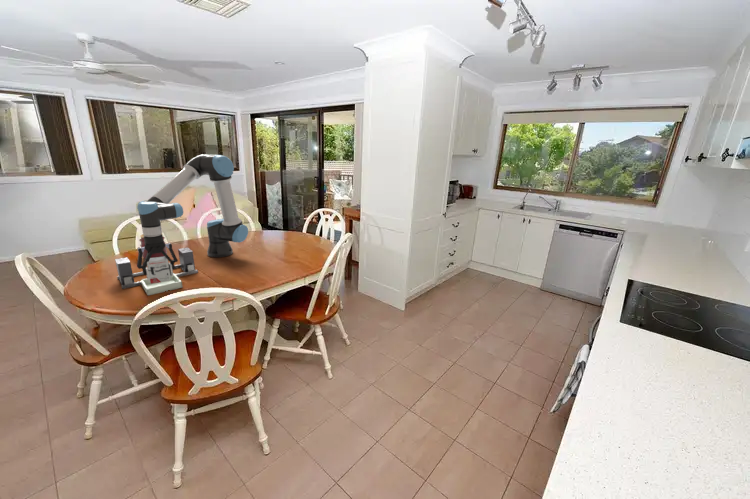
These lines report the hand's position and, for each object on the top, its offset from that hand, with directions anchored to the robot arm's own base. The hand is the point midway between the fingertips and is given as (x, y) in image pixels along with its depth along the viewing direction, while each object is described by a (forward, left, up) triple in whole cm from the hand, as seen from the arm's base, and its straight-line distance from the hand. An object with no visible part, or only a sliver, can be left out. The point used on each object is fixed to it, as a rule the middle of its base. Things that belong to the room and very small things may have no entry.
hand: (160, 277), depth 155 cm
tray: (0, 0, -5) cm, 5 cm away
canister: (-7, -52, -5) cm, 53 cm away
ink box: (0, 0, -2) cm, 2 cm away
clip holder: (-2, -16, -5) cm, 17 cm away
